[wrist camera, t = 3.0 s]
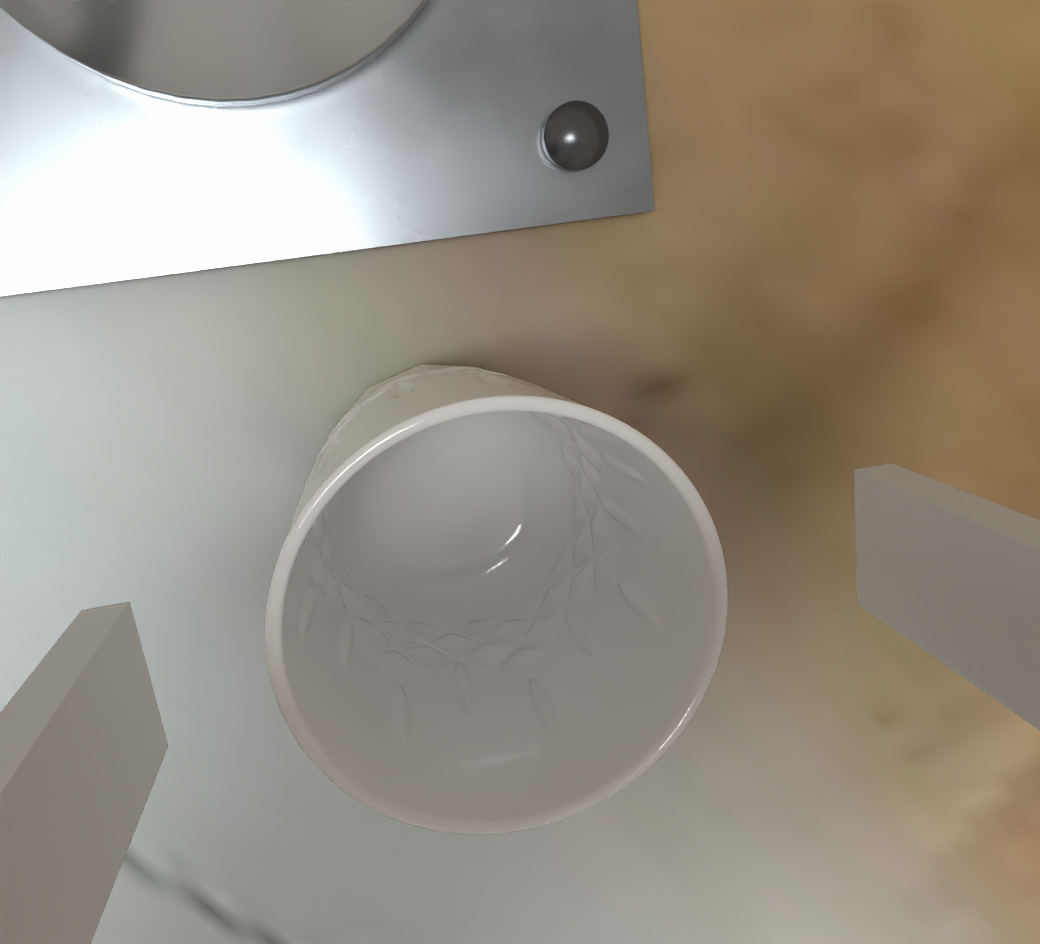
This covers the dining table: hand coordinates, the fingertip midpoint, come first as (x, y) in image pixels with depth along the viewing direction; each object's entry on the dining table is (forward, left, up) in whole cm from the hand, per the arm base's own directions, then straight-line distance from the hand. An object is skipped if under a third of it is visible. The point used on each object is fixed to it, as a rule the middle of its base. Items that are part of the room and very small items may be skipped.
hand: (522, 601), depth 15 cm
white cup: (0, 0, -9) cm, 9 cm away
